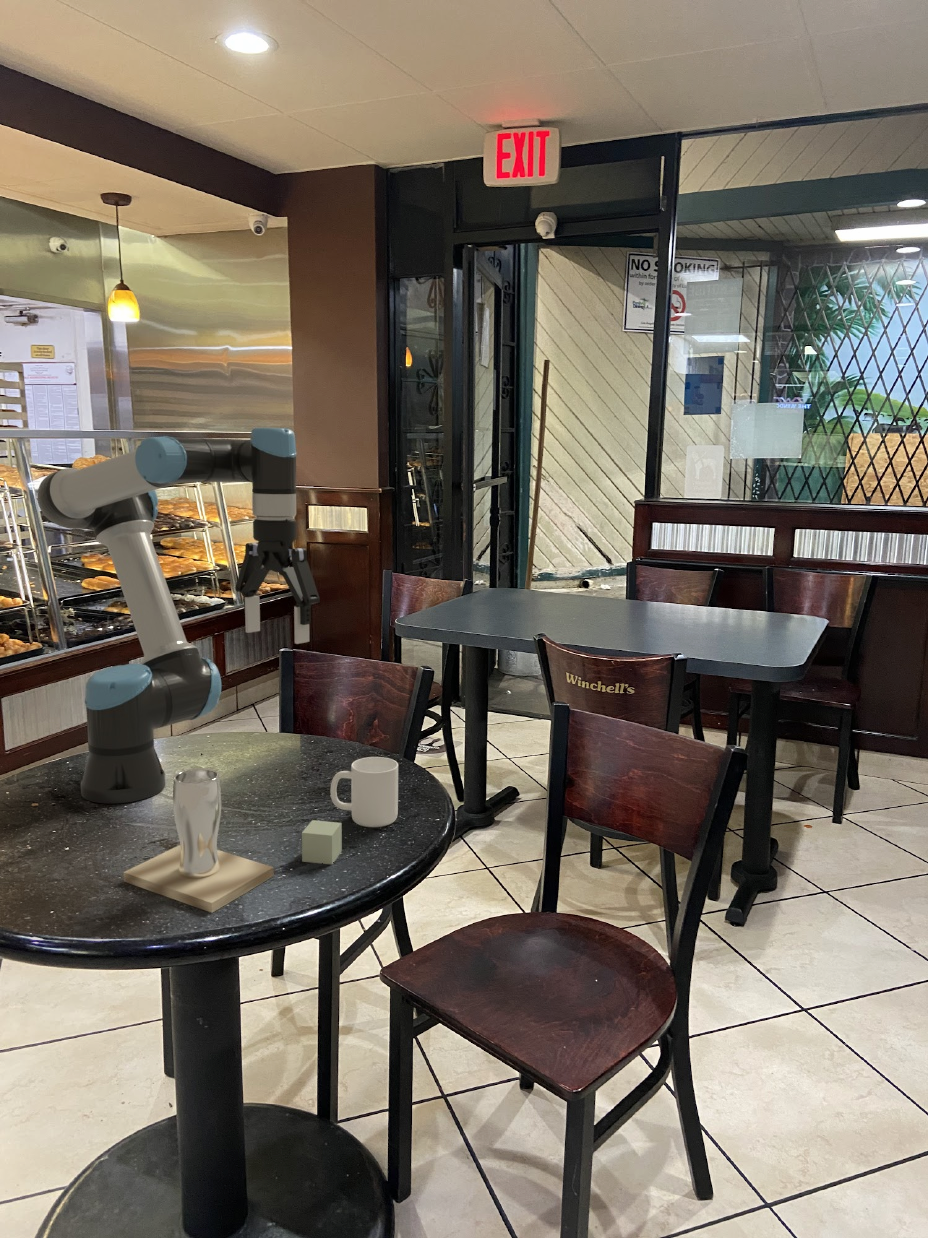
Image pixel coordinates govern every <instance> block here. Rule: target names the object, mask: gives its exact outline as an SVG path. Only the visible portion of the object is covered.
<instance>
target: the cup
mask: <svg viewBox="0 0 928 1238" xmlns="http://www.w3.org/2000/svg"><path fill="white" fill-rule="evenodd" d="M350 768H351V770H343V771H342V770H341V771H338V772H337V773H336V774H335V775H334V776H333V778H332V779H331V784H330V789H329V790H330V798H331V802H332V803H333V805H334V806H335V807H336V808H337V809H340V810H342V811H351V818H352V821H353V822H354V823H356V824H357V825H359V826H361V827H365V828H366V827H368V828H379V827H386V826H389V825H392V824H393V823H394V822H395V821H396V820H397V818H398V815H399V814H398V811H399V808H398V807H399V762H397V761H396V760H394V759H392V758H389V757H383V756H382V757H381V756H369V757H363V758H359V759H356V760H354V761H353V762H352V763H351V767H350ZM341 779H349V780H351V782H350V784H351V785H350V786H351V789H350V790H351V791H350V792H351V797H350V798H351V802H343V801H340V799H339V798H338V794H337V789H338V788H337V787H338V783H339V781H340V780H341Z"/></svg>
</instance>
